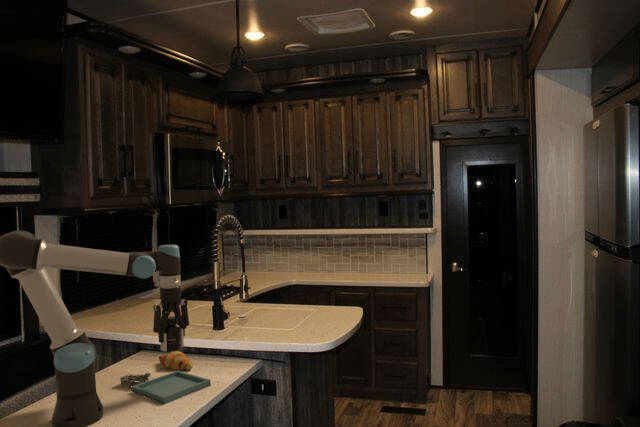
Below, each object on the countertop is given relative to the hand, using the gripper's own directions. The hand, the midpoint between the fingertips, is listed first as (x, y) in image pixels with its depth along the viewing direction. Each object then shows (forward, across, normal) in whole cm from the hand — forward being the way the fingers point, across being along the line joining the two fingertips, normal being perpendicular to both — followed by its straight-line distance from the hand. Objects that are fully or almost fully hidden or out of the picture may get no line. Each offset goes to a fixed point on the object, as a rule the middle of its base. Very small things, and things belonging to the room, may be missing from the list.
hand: (172, 348), depth 191 cm
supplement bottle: (+1, 0, 0) cm, 1 cm away
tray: (+15, -1, 0) cm, 15 cm away
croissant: (+15, +16, +20) cm, 30 cm away
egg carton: (+16, -6, +16) cm, 23 cm away
